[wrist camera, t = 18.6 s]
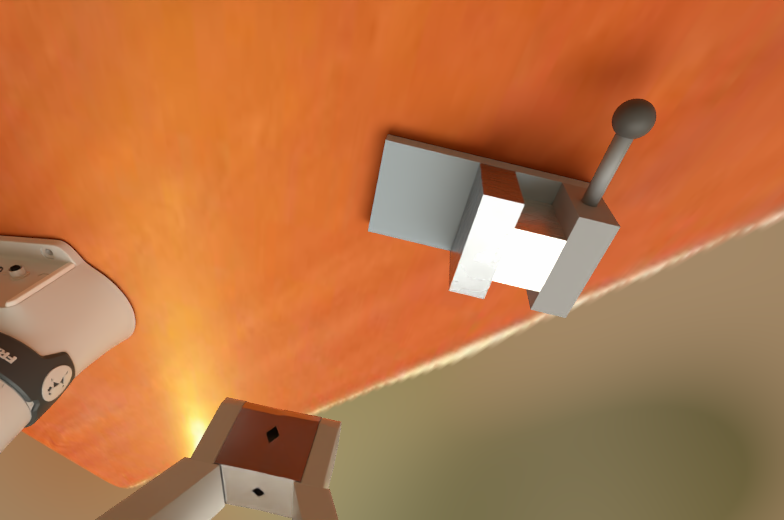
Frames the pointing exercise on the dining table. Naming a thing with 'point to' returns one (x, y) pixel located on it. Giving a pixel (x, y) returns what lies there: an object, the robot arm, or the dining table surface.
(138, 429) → the dining table surface
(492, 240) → the jaw
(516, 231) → the block
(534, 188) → the vise base
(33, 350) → the robot arm
